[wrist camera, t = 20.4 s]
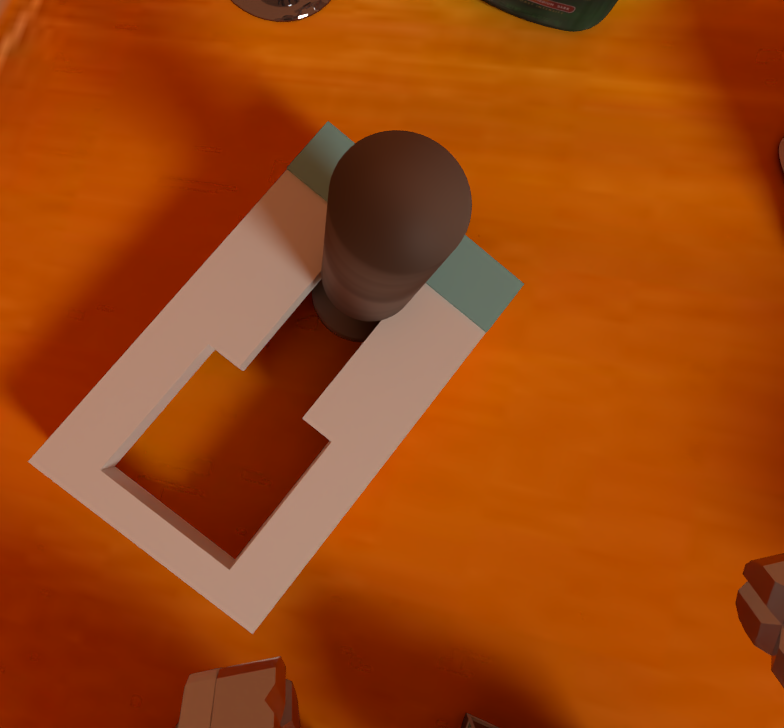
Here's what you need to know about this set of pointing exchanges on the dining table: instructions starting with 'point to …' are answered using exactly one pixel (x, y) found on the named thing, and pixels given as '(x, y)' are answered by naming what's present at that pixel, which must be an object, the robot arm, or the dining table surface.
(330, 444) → the keyhole plate
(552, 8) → the coffee jar
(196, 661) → the dining table surface
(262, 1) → the wine glass
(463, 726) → the food container
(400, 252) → the knob post
